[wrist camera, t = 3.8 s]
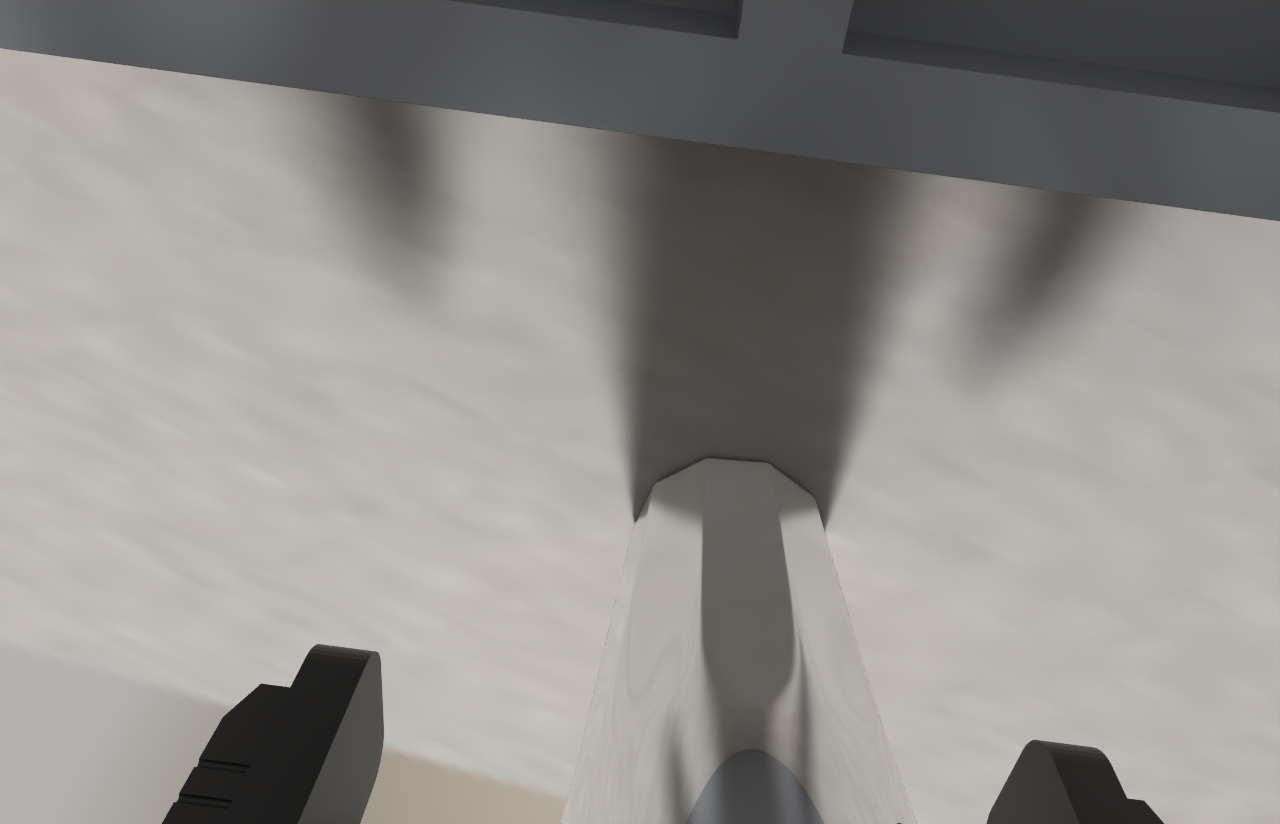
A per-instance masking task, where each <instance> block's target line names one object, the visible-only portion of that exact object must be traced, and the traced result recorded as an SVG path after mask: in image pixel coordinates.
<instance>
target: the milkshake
mask: <svg viewBox="0 0 1280 824" xmlns="http://www.w3.org/2000/svg"><path fill="white" fill-rule="evenodd" d="M560 824H918V823H917V820H916V818H915V815H914V812H913V809H912V806H911V803H910V800H909V797H908V795H907V792H906V789H905V786H904V783H903V781H902V778H901V775H900V773H899V770H898V767H897V764H896V761H895V759H894V756H893V753H892V750H891V747H890V744H889V741H888V739H887V736H886V733H885V730H884V727H883V724H882V720H881V717H880V714H879V711H878V708H877V704H876V701H875V698H874V695H873V691H872V688H871V685H870V682H869V678H868V675H867V672H866V668H865V665H864V662H863V658H862V655H861V652H860V648H859V645H858V642H857V638H856V635H855V632H854V628H853V625H852V622H851V618H850V615H849V612H848V608H847V605H846V601H845V598H844V595H843V591H842V588H841V585H840V581H839V578H838V575H837V571H836V568H835V565H834V561H833V558H832V554H831V551H830V548H829V544H828V541H827V538H826V534H825V531H824V528H823V524H822V521H821V518H820V514H819V511H818V508H817V504H816V502H815V499H814V497H813V496H812V495H811V494H809V493H808V492H806V491H805V490H804V489H802V488H801V487H800V486H798V485H797V484H796V483H794V482H793V481H792V480H790V479H789V478H788V477H786V476H785V475H784V474H782V473H781V472H780V471H778V470H777V469H776V468H774V467H773V466H772V465H770V464H769V463H764V462H751V461H738V460H726V459H714V458H706V459H704V460H702V461H700V462H698V463H696V464H694V465H691V466H689V467H687V468H685V469H683V470H681V471H679V472H677V473H675V474H673V475H671V476H669V477H667V478H665V479H663V480H661V481H659V482H657V483H655V484H654V486H653V488H652V490H651V492H650V494H649V496H648V498H647V500H646V503H645V505H644V507H643V509H642V511H641V513H640V515H639V517H638V519H637V521H636V523H635V525H634V527H633V529H632V532H631V536H630V540H629V544H628V548H627V552H626V557H625V561H624V565H623V569H622V574H621V578H620V582H619V586H618V591H617V595H616V599H615V603H614V607H613V612H612V616H611V620H610V624H609V629H608V633H607V637H606V641H605V646H604V650H603V654H602V658H601V663H600V667H599V671H598V675H597V680H596V684H595V688H594V692H593V697H592V701H591V705H590V709H589V714H588V718H587V722H586V727H585V731H584V735H583V739H582V744H581V748H580V752H579V756H578V760H577V764H576V768H575V772H574V775H573V779H572V783H571V786H570V790H569V794H568V797H567V801H566V804H565V808H564V812H563V815H562V819H561V823H560Z"/></svg>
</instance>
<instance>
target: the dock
mask: <svg viewBox="0 0 1280 824" xmlns="http://www.w3.org/2000/svg"><path fill="white" fill-rule="evenodd" d="M0 48H3V49H11V50H18V51H25V52H33V53H40V54H48V55H55V56H62V57H70V58H77V59H85V60H92V61H99V62H107V63H114V64H122V65H129V66H136V67H144V68H151V69H159V70H166V71H173V72H181V73H188V74H195V75H203V76H210V77H218V78H225V79H232V80H240V81H247V82H255V83H262V84H269V85H277V86H284V87H292V88H299V89H306V90H314V91H321V92H329V93H336V94H343V95H351V96H358V97H366V98H373V99H380V100H388V101H395V102H403V103H410V104H417V105H425V106H432V107H440V108H447V109H454V110H462V111H469V112H476V113H484V114H491V115H499V116H506V117H513V118H521V119H528V120H536V121H543V122H550V123H558V124H565V125H573V126H580V127H587V128H595V129H602V130H610V131H617V132H624V133H632V134H639V135H647V136H654V137H661V138H669V139H676V140H684V141H691V142H698V143H706V144H713V145H721V146H728V147H735V148H743V149H750V150H758V151H765V152H772V153H780V154H787V155H794V156H802V157H809V158H817V159H824V160H831V161H839V162H846V163H854V164H861V165H868V166H876V167H883V168H891V169H898V170H905V171H913V172H920V173H928V174H935V175H942V176H950V177H957V178H965V179H972V180H979V181H987V182H994V183H1002V184H1009V185H1016V186H1024V187H1031V188H1039V189H1046V190H1053V191H1061V192H1068V193H1075V194H1083V195H1090V196H1098V197H1105V198H1112V199H1120V200H1127V201H1135V202H1142V203H1149V204H1157V205H1164V206H1172V207H1179V208H1186V209H1194V210H1201V211H1209V212H1216V213H1223V214H1231V215H1238V216H1246V217H1253V218H1260V219H1268V220H1275V221H1280V0H0Z"/></svg>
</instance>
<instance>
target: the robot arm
mask: <svg viewBox="0 0 1280 824" xmlns="http://www.w3.org/2000/svg"><path fill="white" fill-rule="evenodd" d="M383 740H384V723H383V701H382V679H381V660H380V655H379V653H378V652H375V651H367V650H359V649H352V648H344V647H336V646H329V645H321V644H317V645H315V646H314V647H313V648H312V649H311V650H310V651H309V653H308V655H307V656H306V658H305V660H304V662H303V664H302V666H301V668H300V670H299V672H298V674H297V676H296V678H295V680H294V681H293V683H292V685H291V687H282V686H275V685H267V684H260V685H259V686H258V687H257V688H256V689H255V690H253V691H252V692H251V693H250V694H249V695H248V696H247V697H245V698H244V699H243V700H242V701H241V702H240V703H239V704H237V705H236V706H235V707H234V708H233V709H232V710H231V711H229V712H228V713H227V714H226V715H225V716H224V717H223V718H222V720H221V722H220V723H219V725H218V727H217V729H216V731H215V732H214V734H213V735H212V737H211V739H210V741H209V742H208V744H207V746H206V748H205V750H204V751H203V753H202V755H201V756H200V758H199V764H198V766H197V767H194V769H193V770H192V772H191V774H190V775H189V777H188V779H187V781H186V783H185V784H184V786H183V788H182V789H181V791H180V793H179V799H178V801H177V802H174V803H173V805H172V807H171V808H170V810H169V812H168V814H167V815H166V817H165V819H164V821H163V822H162V824H360V822H361V819H362V817H363V814H364V811H365V808H366V806H367V803H368V800H369V797H370V794H371V792H372V789H373V786H374V783H375V780H376V777H377V773H378V769H379V765H380V759H381V755H382V748H383ZM987 824H1164V823H1163V822H1162V821H1161V819H1160V818H1159V817H1158V816H1157V815H1156V814H1155V813H1154V812H1153V810H1152V809H1151V808H1150V807H1149V806H1148V805H1147V804H1146V802H1145V801H1142V800H1134V799H1127V797H1126V795H1125V793H1124V791H1123V789H1122V786H1121V784H1120V782H1119V780H1118V778H1117V776H1116V774H1115V772H1114V770H1113V767H1112V765H1111V763H1110V762H1109V760H1108V758H1107V757H1106V756H1105V754H1104V753H1103V752H1101V751H1100V750H1098V749H1097V748H1093V747H1086V746H1078V745H1070V744H1063V743H1055V742H1047V741H1040V740H1032V741H1030V742H1029V743H1028V744H1027V745H1026V746H1025V748H1024V749H1023V751H1022V753H1021V755H1020V757H1019V759H1018V760H1017V762H1016V764H1015V766H1014V768H1013V770H1012V772H1011V774H1010V775H1009V777H1008V779H1007V781H1006V783H1005V785H1004V787H1003V789H1002V791H1001V792H1000V794H999V796H998V798H997V800H996V802H995V804H994V806H993V807H992V809H991V811H990V814H989V817H988V820H987Z"/></svg>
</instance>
